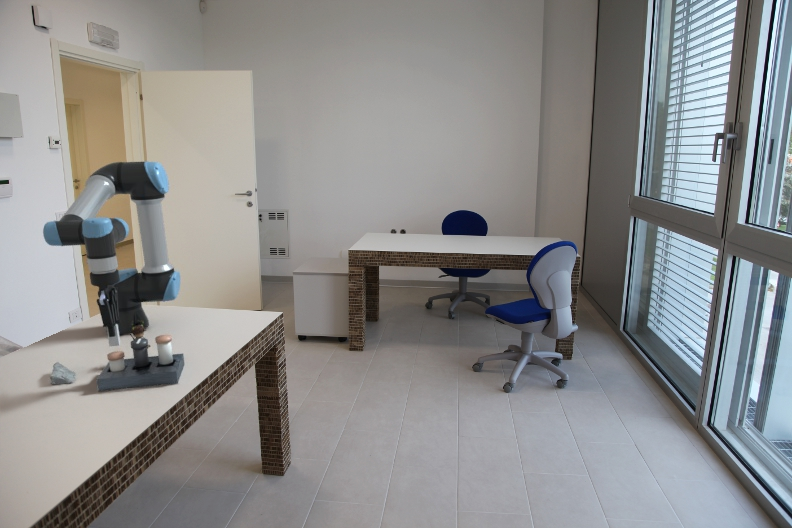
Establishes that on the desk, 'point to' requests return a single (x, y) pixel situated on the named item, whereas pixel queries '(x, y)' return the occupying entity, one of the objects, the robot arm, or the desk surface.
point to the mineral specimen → (61, 374)
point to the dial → (140, 352)
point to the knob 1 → (116, 361)
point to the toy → (138, 332)
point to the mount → (141, 374)
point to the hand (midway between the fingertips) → (115, 345)
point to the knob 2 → (164, 349)
